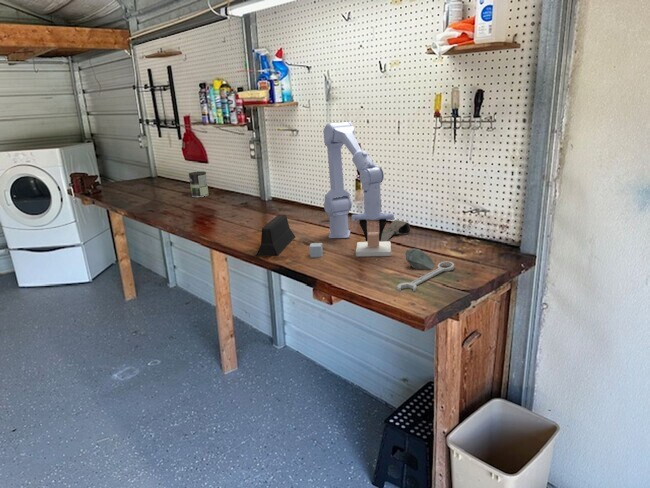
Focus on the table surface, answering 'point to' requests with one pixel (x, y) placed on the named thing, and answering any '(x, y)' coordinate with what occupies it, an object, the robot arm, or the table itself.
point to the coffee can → (198, 184)
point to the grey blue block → (316, 250)
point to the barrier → (275, 237)
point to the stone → (419, 259)
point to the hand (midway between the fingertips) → (373, 240)
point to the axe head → (395, 229)
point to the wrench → (426, 276)
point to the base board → (373, 249)
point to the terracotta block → (373, 239)
